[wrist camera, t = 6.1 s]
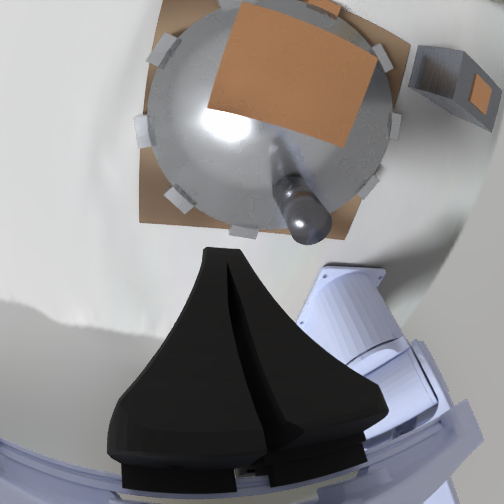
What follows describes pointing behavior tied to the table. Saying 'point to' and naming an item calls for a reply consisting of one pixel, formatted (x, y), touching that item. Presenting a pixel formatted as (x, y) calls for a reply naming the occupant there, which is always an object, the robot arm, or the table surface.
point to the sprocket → (269, 115)
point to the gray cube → (456, 85)
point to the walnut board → (150, 174)
